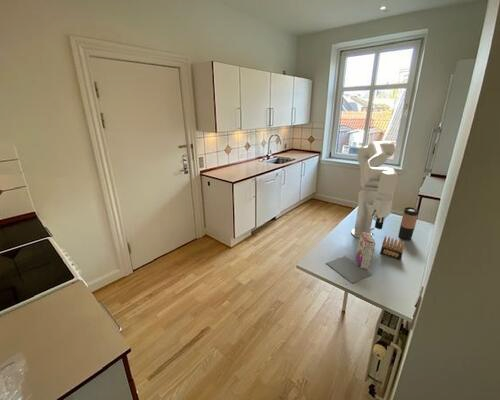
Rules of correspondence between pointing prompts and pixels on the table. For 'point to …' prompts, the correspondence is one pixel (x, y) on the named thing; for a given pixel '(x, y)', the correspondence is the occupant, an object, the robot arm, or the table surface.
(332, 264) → the mat
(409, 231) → the travel mug
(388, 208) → the robot arm
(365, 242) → the candy bar box
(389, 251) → the ammunition clip
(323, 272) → the table surface
